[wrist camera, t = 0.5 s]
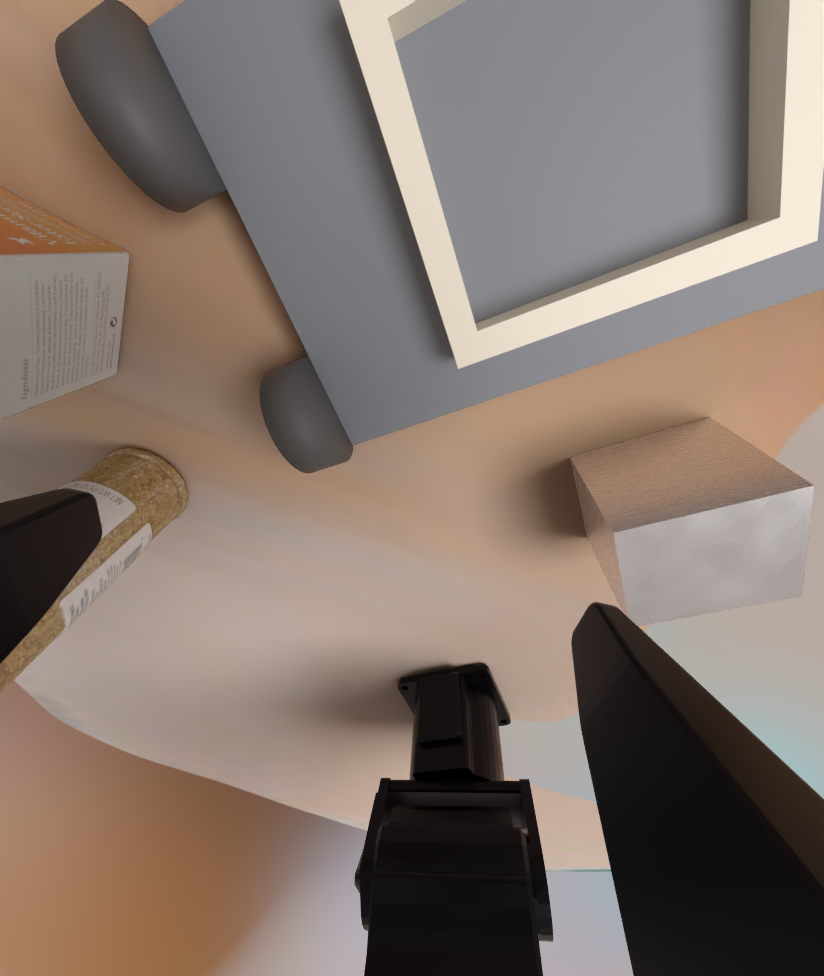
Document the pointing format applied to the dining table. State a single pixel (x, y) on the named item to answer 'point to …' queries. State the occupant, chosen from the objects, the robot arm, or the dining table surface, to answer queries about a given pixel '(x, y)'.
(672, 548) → the block
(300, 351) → the dining table surface
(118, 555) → the sprinkles bottle
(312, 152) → the chassis
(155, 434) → the dining table surface
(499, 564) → the dining table surface
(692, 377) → the dining table surface
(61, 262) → the small box
